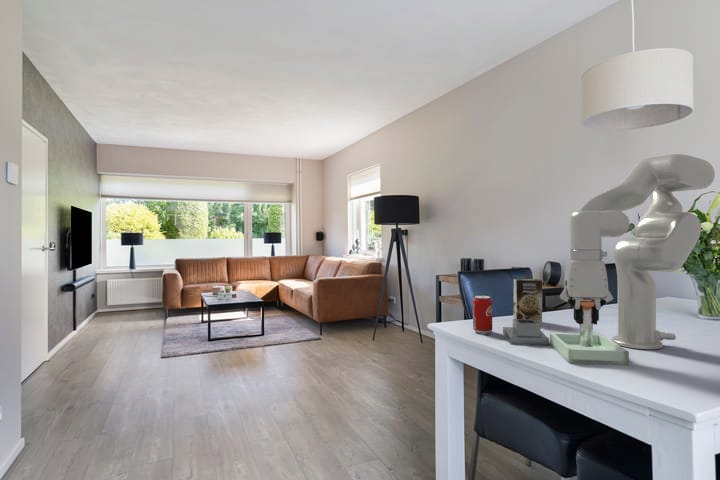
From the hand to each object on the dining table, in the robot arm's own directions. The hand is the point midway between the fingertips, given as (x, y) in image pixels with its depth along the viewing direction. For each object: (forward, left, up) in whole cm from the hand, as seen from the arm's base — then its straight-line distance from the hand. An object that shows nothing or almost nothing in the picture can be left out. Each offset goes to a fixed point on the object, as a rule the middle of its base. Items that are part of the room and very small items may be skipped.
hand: (586, 322), depth 115 cm
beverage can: (+25, -23, -9) cm, 35 cm away
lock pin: (0, 0, -6) cm, 6 cm away
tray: (0, 0, -9) cm, 9 cm away
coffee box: (+7, -41, -9) cm, 43 cm away
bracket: (+13, -16, -9) cm, 22 cm away
